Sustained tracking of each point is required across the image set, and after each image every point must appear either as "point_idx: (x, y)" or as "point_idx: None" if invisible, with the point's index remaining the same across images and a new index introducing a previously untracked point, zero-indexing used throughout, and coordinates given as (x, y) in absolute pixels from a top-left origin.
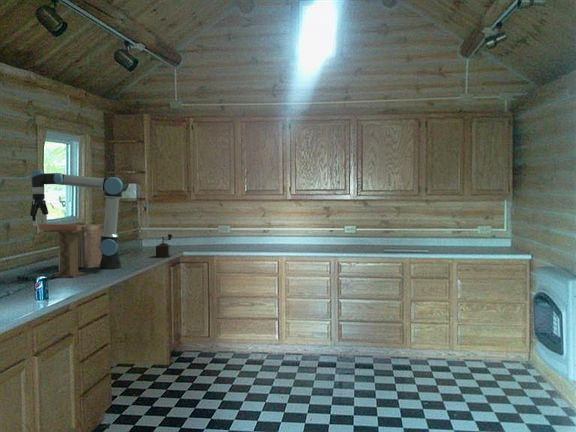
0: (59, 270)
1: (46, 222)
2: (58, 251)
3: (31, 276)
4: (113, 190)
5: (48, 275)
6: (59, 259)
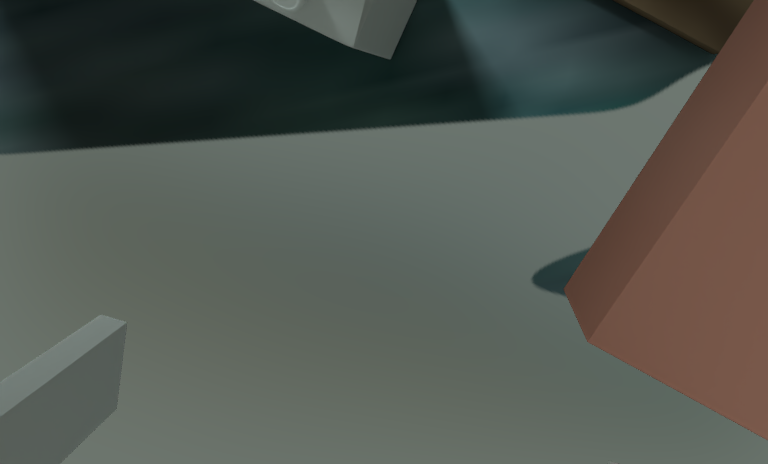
0: (393, 52)
1: (100, 343)
2: (357, 48)
3: None
4: None
5: (630, 99)
6: (379, 43)
